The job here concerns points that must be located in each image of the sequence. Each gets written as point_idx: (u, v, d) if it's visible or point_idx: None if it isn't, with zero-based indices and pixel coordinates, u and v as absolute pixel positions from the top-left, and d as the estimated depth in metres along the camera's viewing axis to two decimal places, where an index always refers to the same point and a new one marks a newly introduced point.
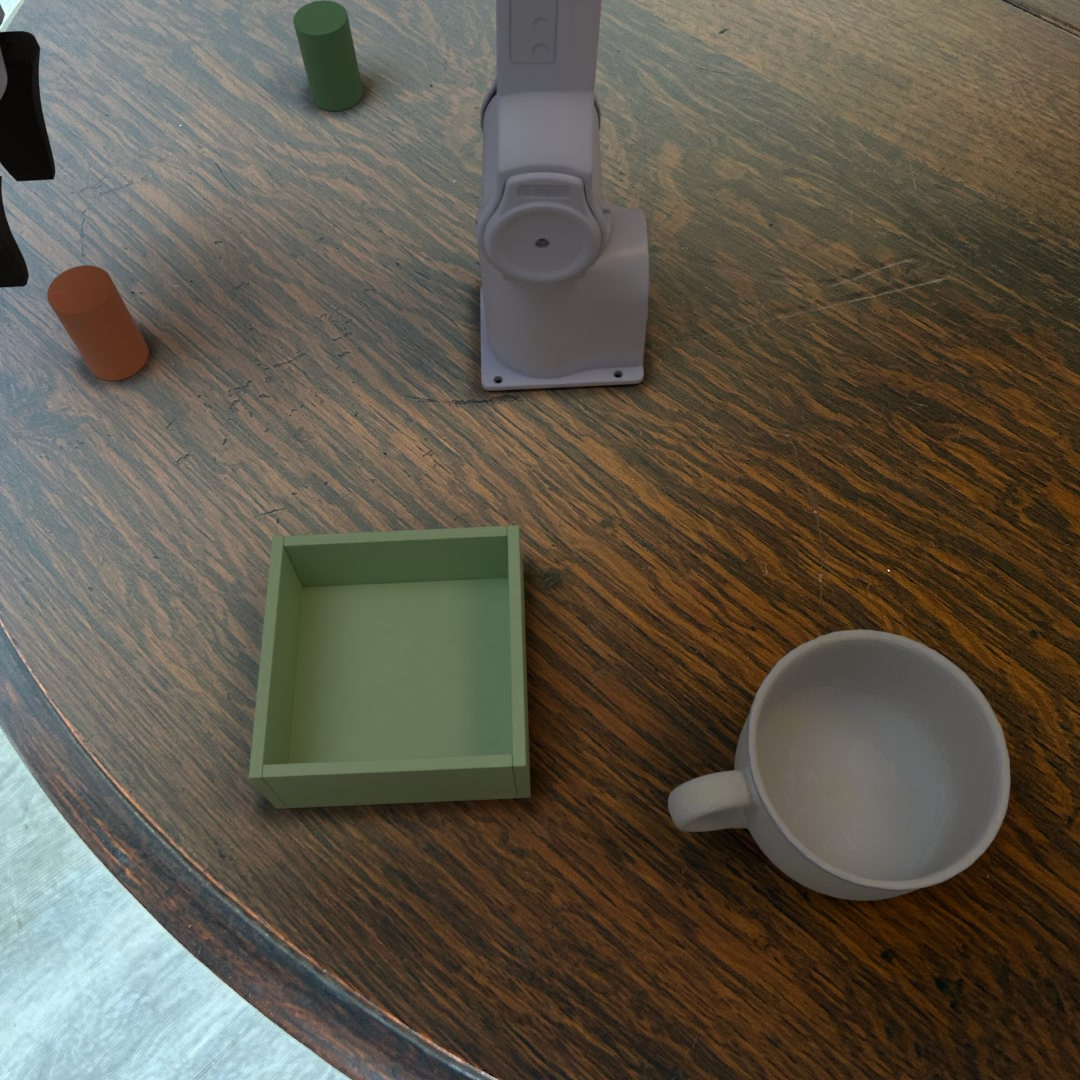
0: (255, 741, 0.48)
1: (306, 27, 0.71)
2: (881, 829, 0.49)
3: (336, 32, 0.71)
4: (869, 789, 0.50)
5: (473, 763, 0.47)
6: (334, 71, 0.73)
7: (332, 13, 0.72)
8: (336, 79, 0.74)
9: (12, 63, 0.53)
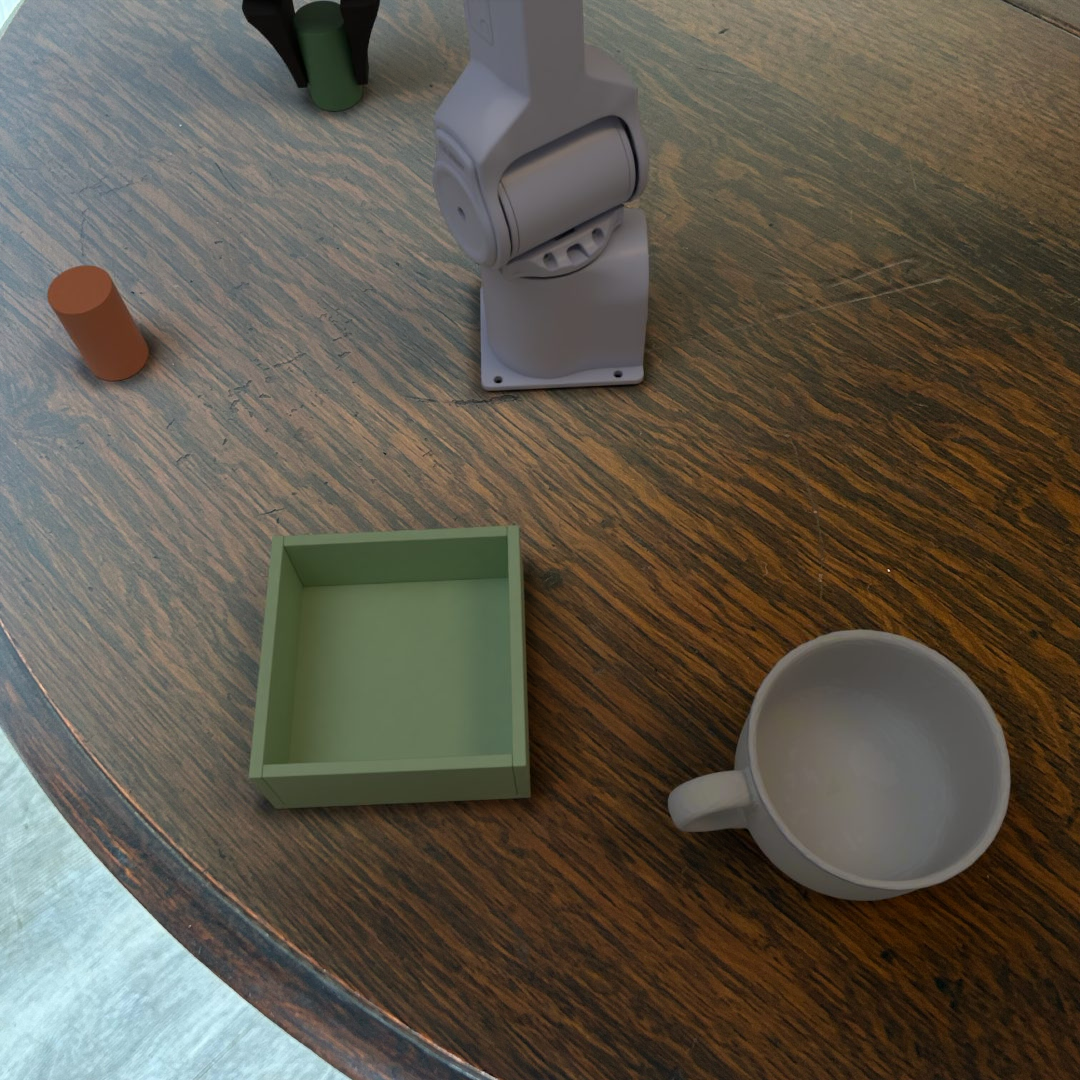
0: (255, 741, 0.48)
1: (305, 27, 0.71)
2: (881, 829, 0.49)
3: (336, 32, 0.71)
4: (869, 789, 0.50)
5: (473, 763, 0.47)
6: (334, 71, 0.73)
7: (331, 13, 0.72)
8: (336, 79, 0.74)
9: None
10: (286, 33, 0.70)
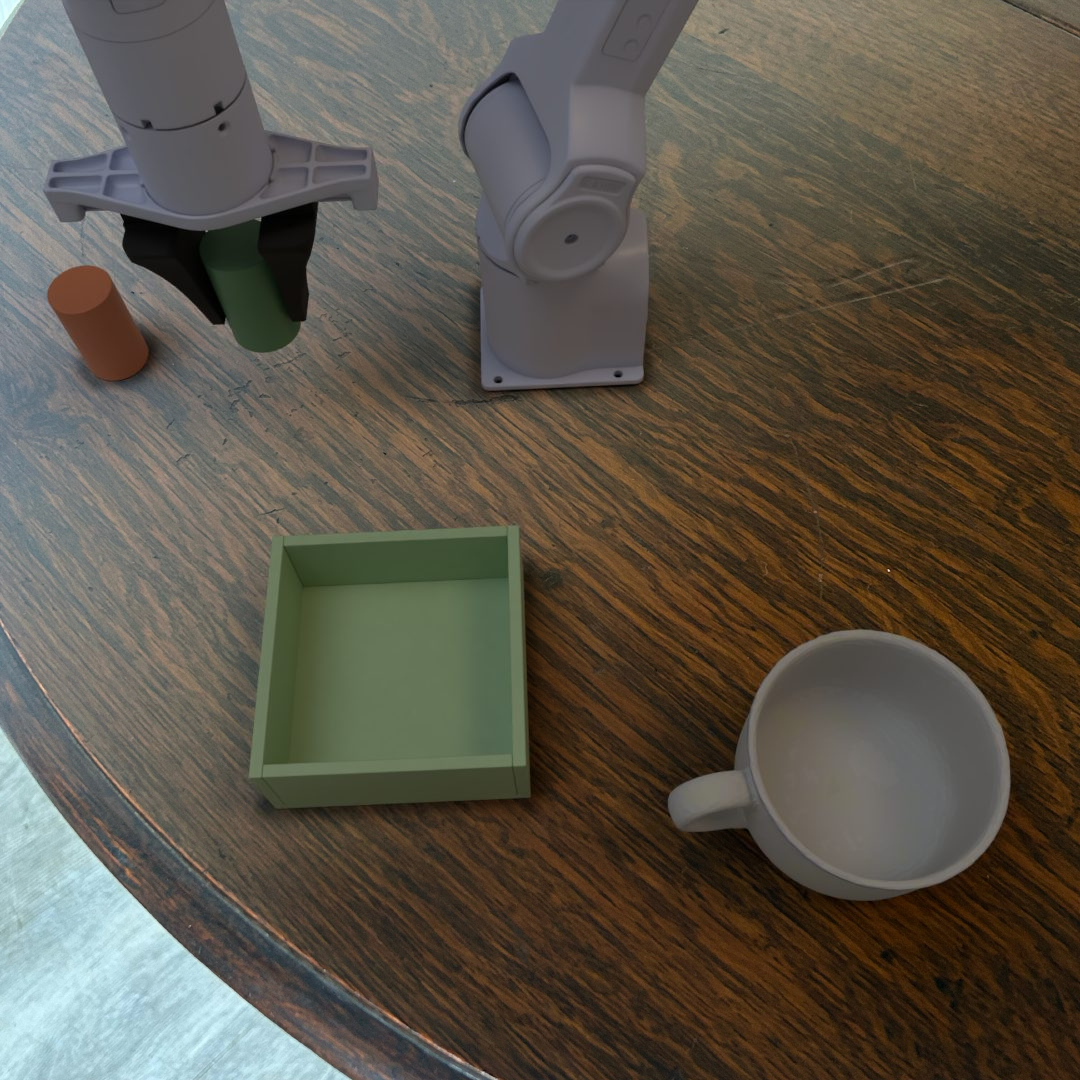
0: (255, 741, 0.48)
1: (215, 260, 0.52)
2: (881, 829, 0.49)
3: (257, 267, 0.51)
4: (869, 789, 0.50)
5: (473, 763, 0.47)
6: (258, 311, 0.54)
7: (252, 237, 0.52)
8: (261, 319, 0.54)
9: (261, 234, 0.49)
10: (187, 271, 0.51)
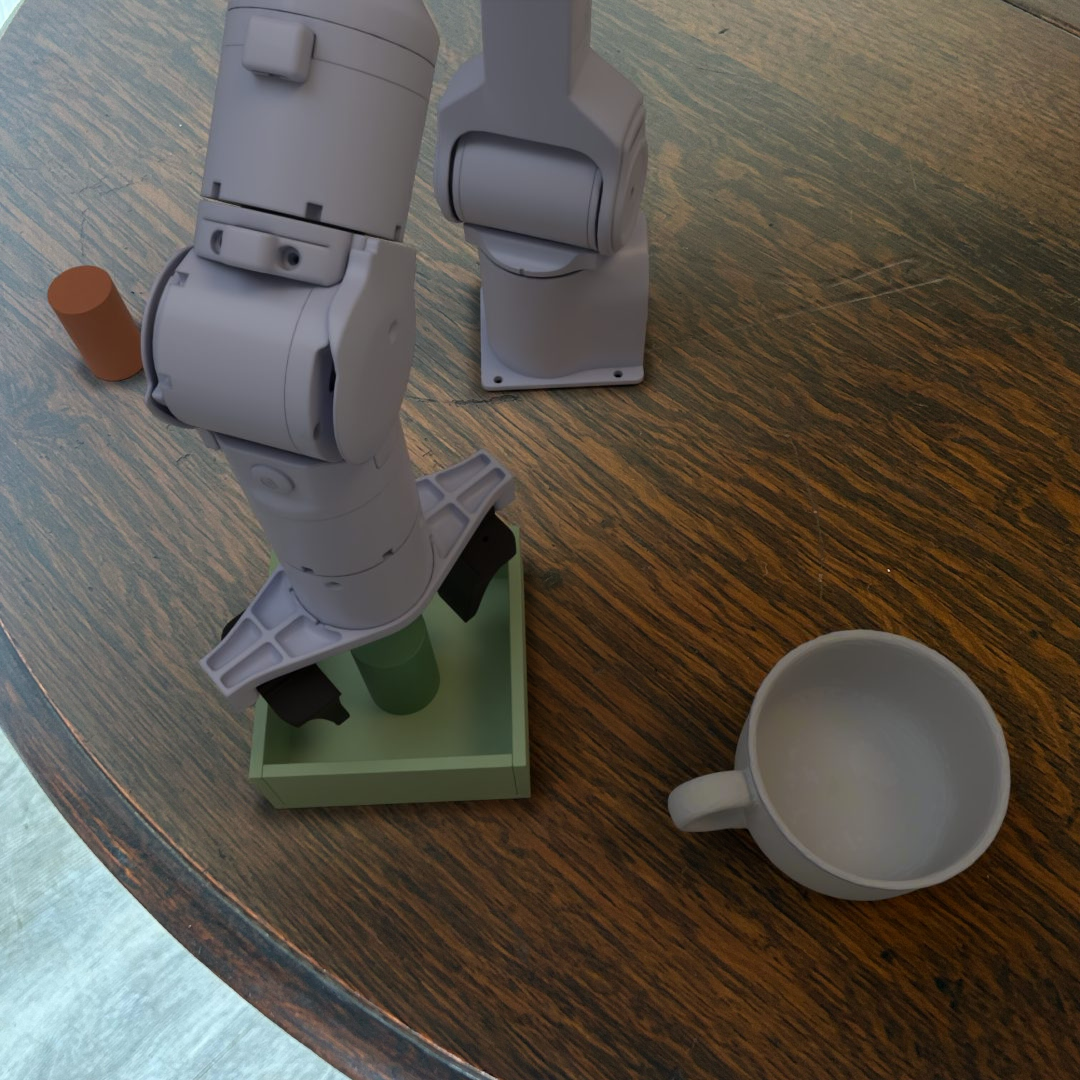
0: (255, 741, 0.48)
1: (384, 658, 0.48)
2: (881, 829, 0.49)
3: (425, 638, 0.49)
4: (869, 789, 0.50)
5: (473, 763, 0.47)
6: (426, 674, 0.51)
7: None
8: (427, 679, 0.51)
9: (469, 563, 0.46)
10: (338, 696, 0.45)
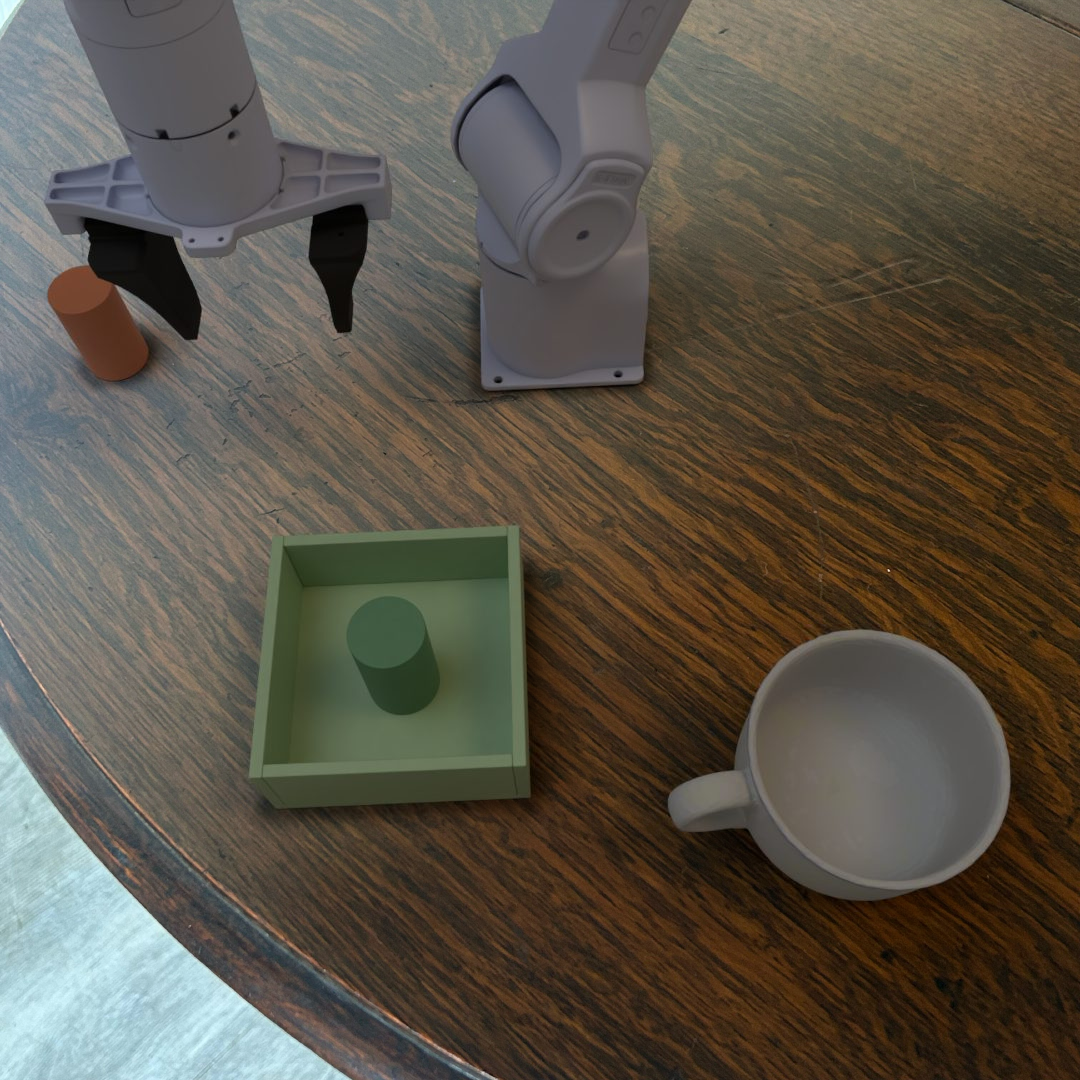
0: (255, 741, 0.48)
1: (384, 658, 0.48)
2: (881, 829, 0.49)
3: (425, 638, 0.49)
4: (869, 789, 0.50)
5: (473, 763, 0.47)
6: (426, 674, 0.51)
7: (393, 615, 0.49)
8: (427, 679, 0.51)
9: None
10: None
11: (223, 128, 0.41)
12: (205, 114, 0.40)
